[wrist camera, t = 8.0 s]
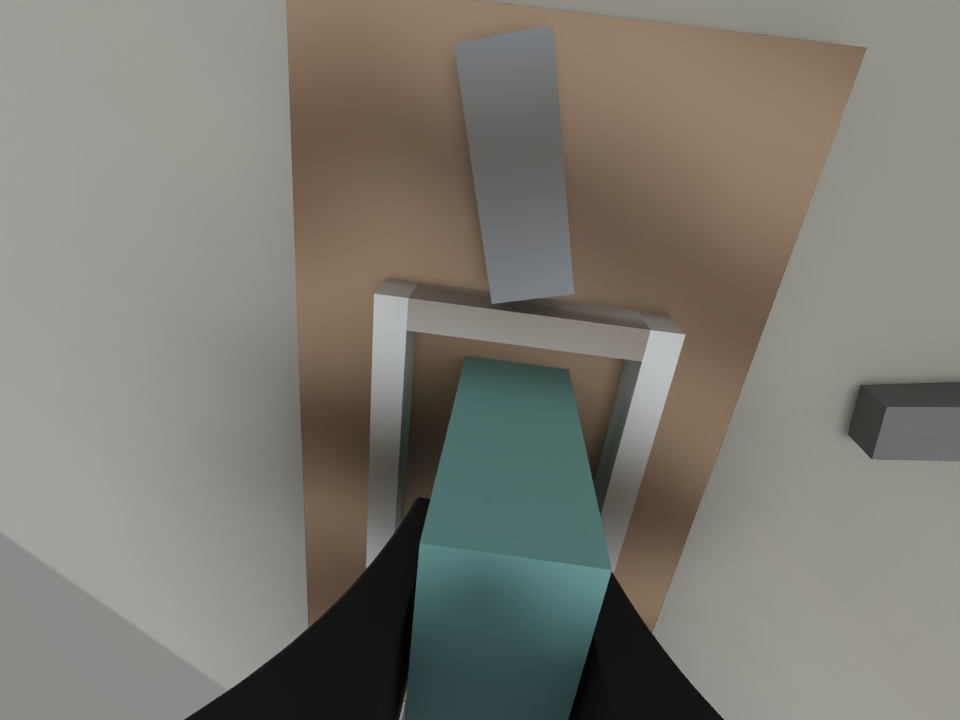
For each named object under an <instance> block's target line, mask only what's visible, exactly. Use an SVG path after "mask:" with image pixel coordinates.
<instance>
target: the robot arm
mask: <svg viewBox="0 0 960 720" xmlns="http://www.w3.org/2000/svg"><path fill="white" fill-rule="evenodd" d="M429 503H430V499H429V498H422V497H419V498H417V499H416V500H414V502H413V504H412V506H411V508H410V509H409V511H408V513H407V515H406V516H405V518H404V519H403V521H402V522H401V524H400V525H399V527H398V528H397V530H396V531H395V533H394V534H393V536H392V537H391V538H390V540H389V541H388V542H387V543H386V545H385V546H384V547H383V549H382V550H381V551H380V553H379V554H378V555H377V557H376V558H375V559H374V560H373V562H372V563H371V564H370V565H369V566H368V567H367V568H366V570H365V571H364V572H363V573H362V574H361V575H360V577H359V578H358V579H357V580H356V581H355V582H354V584H353V585H352V586H351V587H350V588H349V589H348V590H347V591H346V592H345V593H344V594H343V595H342V596H341V597H340V598H339V599H338V600H337V601H336V602H335V603H334V604H333V605H332V606H331V607H330V608H329V609H328V610H327V611H326V612H325V613H324V614H323V615H322V616H321V617H320V618H319V619H318V620H317V621H316V622H314V623H313V624H312V625H311V626H310V627H309V628H308V629H307V630H306V631H304V632H303V633H302V634H301V635H300V636H299V637H298V638H297V639H295V640H294V641H293V642H292V643H291V644H289V645H288V646H287V647H286V648H285V649H283V650H282V651H281V652H280V653H278V654H277V655H276V656H274V657H273V658H272V659H270V660H269V661H268V662H267V663H265V664H264V665H263V666H261V667H260V668H259V669H257V670H256V671H255V672H254V673H252V674H251V675H250V676H248V677H247V678H246V679H244V680H243V681H241V682H240V683H239V684H237V685H236V686H234V687H233V688H231V689H230V690H228V691H227V692H225V693H224V694H222V695H221V696H220V697H218V698H216V699H215V700H214V701H212V702H210V703H209V704H207V705H206V706H204V707H203V708H201V709H200V710H198V711H197V712H196V713H194V714H192V715H191V716H189V717H188V718H186V719H185V720H399V717H400V713H401V709H402V705H403V700H404V696H405V693H406V689H407V684H408V673H409V661H410V650H411V638H412V627H413V615H414V604H415V592H416V580H417V569H418V557H419V546H420V540H421V536H422V532H423V528H424V524H425V520H426V516H427V511H428V507H429ZM568 720H724V719H723V718H722V717H721V716H720V715H719V714H718V713H717V712H716V711H715V709H714V708H713V707H712V706H711V705H710V704H709V703H708V702H707V701H706V700H705V699H704V697H703V696H702V695H701V694H700V693H699V692H698V691H697V690H696V689H695V688H694V686H693V685H692V684H691V683H690V682H689V680H688V679H687V678H686V677H685V676H684V674H683V673H682V672H681V671H680V670H679V668H678V667H677V666H676V665H675V663H674V662H673V661H672V659H671V658H670V657H669V656H668V654H667V653H666V652H665V650H664V649H663V648H662V646H661V645H660V644H659V642H658V641H657V640H656V638H655V637H654V636H653V634H652V633H651V631H650V630H649V628H648V627H647V626H646V624H645V623H644V621H643V620H642V618H641V617H640V615H639V614H638V612H637V611H636V609H635V608H634V606H633V605H632V603H631V602H630V600H629V598H628V597H627V595H626V594H625V592H624V590H623V589H622V587H621V585H620V584H619V582H618V580H617V579H616V577H615V575H614V574H613V572H611V575H610V578H609V582H608V585H607V589H606V592H605V596H604V599H603V602H602V606H601V609H600V613H599V616H598V620H597V623H596V626H595V630H594V633H593V637H592V640H591V644H590V647H589V650H588V654H587V657H586V661H585V664H584V668H583V671H582V674H581V678H580V681H579V685H578V688H577V692H576V695H575V698H574V702H573V705H572V709H571V712H570V715H569V719H568Z"/></svg>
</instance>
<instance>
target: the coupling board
mask: <svg viewBox="0 0 960 720" xmlns="http://www.w3.org/2000/svg"><path fill="white" fill-rule="evenodd" d="M286 6H287V34H288V62H289V90H290V119H291V147H292V175H293V203H294V231H295V259H296V287H297V316H298V344H299V372H300V400H301V428H302V456H303V484H304V513H305V541H306V569H307V597H308V625H309V627H310V626H311V625H312V624H313V623H314V622H316V621H317V620H318V619H319V618H320V617H321V616H322V615H323V614H324V613H325V612H326V611H327V610H328V609H329V608H330V607H331V606H332V605H333V604H334V603H335V602H336V601H337V600H338V599H339V598H340V597H341V596H342V595H343V594H344V593H345V592H346V591H347V590H348V589H349V588H350V587H351V586H352V585H353V584H354V582H355V581H356V580H357V579H358V578H359V577H360V575H361V574H362V573H363V572H364V571H365V570H366V568H367V567H368V566H369V565H370V564H371V563H372V562H373V560H374V559H375V558H376V557H377V555H378V554H379V553H380V551H381V550H382V549H383V547H384V546H385V545H386V543H387V542H388V541H389V540H390V538H391V537H392V536H393V534H394V533H395V531H396V530H397V528H398V527H399V525H400V524H401V522H402V521H403V519H404V518H405V516H406V515H407V513H408V511H409V509H410V508H411V506H412V504H413V502H414V500H416V499H417V498H419V497H422V498H429V499H431V495H432V491H433V487H434V483H435V479H436V475H437V470H438V466H439V462H440V458H441V454H442V450H443V446H444V442H445V438H446V434H447V429H448V425H449V421H450V417H451V413H452V409H453V405H454V401H455V397H456V393H457V388H458V384H459V380H460V376H461V372H462V368H463V364H464V360H465V356H473V357H480V358H488V359H495V360H503V361H510V362H518V363H525V364H533V365H540V366H548V367H555V368H563V369H569V373H570V378H571V382H572V387H573V391H574V396H575V401H576V405H577V410H578V415H579V419H580V424H581V429H582V433H583V438H584V443H585V447H586V452H587V457H588V461H589V466H590V471H591V475H592V480H593V484H594V489H595V494H596V498H597V503H598V508H599V512H600V517H601V522H602V526H603V531H604V536H605V540H606V545H607V550H608V554H609V559H610V563H611V568H612V572H613V574H614V575H615V577H616V579H617V580H618V582H619V584H620V585H621V587H622V589H623V590H624V592H625V594H626V595H627V597H628V598H629V600H630V602H631V603H632V605H633V606H634V608H635V609H636V611H637V612H638V614H639V615H640V617H641V618H642V620H643V621H644V623H645V624H646V626H647V627H648V628H649V630H650V631H651V633H652V632H653V629H654V626H655V624H656V621H657V618H658V615H659V613H660V610H661V607H662V605H663V602H664V599H665V596H666V594H667V591H668V588H669V586H670V583H671V580H672V577H673V575H674V572H675V569H676V566H677V564H678V561H679V558H680V556H681V553H682V550H683V547H684V545H685V542H686V539H687V536H688V534H689V531H690V528H691V526H692V523H693V520H694V517H695V515H696V512H697V509H698V506H699V504H700V501H701V498H702V496H703V493H704V490H705V487H706V485H707V482H708V479H709V476H710V474H711V471H712V468H713V466H714V463H715V460H716V457H717V455H718V452H719V449H720V447H721V444H722V441H723V438H724V436H725V433H726V430H727V427H728V425H729V422H730V419H731V417H732V414H733V411H734V408H735V406H736V403H737V400H738V397H739V395H740V392H741V389H742V387H743V384H744V381H745V378H746V376H747V373H748V370H749V367H750V365H751V362H752V359H753V357H754V354H755V351H756V348H757V346H758V343H759V340H760V337H761V335H762V332H763V329H764V327H765V324H766V321H767V318H768V316H769V313H770V310H771V308H772V305H773V302H774V299H775V297H776V294H777V291H778V288H779V286H780V283H781V280H782V278H783V275H784V272H785V269H786V267H787V264H788V261H789V258H790V256H791V253H792V250H793V248H794V245H795V242H796V239H797V237H798V234H799V231H800V228H801V226H802V223H803V220H804V218H805V215H806V212H807V209H808V207H809V204H810V201H811V198H812V196H813V193H814V190H815V188H816V185H817V182H818V179H819V177H820V174H821V171H822V169H823V166H824V163H825V160H826V158H827V155H828V152H829V149H830V147H831V144H832V141H833V139H834V136H835V133H836V130H837V128H838V125H839V122H840V119H841V117H842V114H843V111H844V109H845V106H846V103H847V100H848V98H849V95H850V92H851V89H852V87H853V84H854V81H855V79H856V76H857V73H858V70H859V68H860V65H861V62H862V59H863V57H864V54H865V51H866V49H867V48H865V47H857V46H849V45H840V44H832V43H824V42H816V41H807V40H799V39H791V38H782V37H774V36H766V35H758V34H749V33H741V32H733V31H724V30H716V29H708V28H700V27H691V26H683V25H675V24H666V23H658V22H650V21H642V20H633V19H625V18H617V17H608V16H600V15H592V14H584V13H575V12H567V11H559V10H550V9H542V8H534V7H526V6H517V5H509V4H501V3H492V2H484V1H476V0H286ZM406 696H407V689H406V693H405V696H404V700H403V702H405V707H406ZM405 707H404V712H403V717H402V720H404V719H405Z"/></svg>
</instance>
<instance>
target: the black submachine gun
mask: <svg viewBox="0 0 960 720" xmlns="http://www.w3.org/2000/svg"><path fill="white" fill-rule="evenodd" d="M848 435H849V436H850V437H851V438H852V439H853V440H854V441H855V442H856V443H857V444H858V445H859V446H860V447H861V448H862V450H863V451H864V452H865V453H866V454H867V455H868V456H869V457H870V458H871V459H877V460H931V461H960V382H954V383H918V384H882V385H861V387H860V391H859V395H858V399H857V403H856V407H855V411H854V414H853V418H852V422H851V426H850V430H849V434H848Z"/></svg>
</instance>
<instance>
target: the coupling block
mask: <svg viewBox="0 0 960 720" xmlns="http://www.w3.org/2000/svg"><path fill="white" fill-rule="evenodd" d="M611 572H612V568H611V563H610V559H609V554H608V550H607V545H606V540H605V536H604V531H603V526H602V522H601V517H600V512H599V508H598V503H597V498H596V494H595V489H594V484H593V480H592V475H591V471H590V466H589V461H588V457H587V452H586V447H585V443H584V438H583V433H582V429H581V424H580V419H579V415H578V410H577V405H576V401H575V396H574V391H573V387H572V382H571V378H570V373H569V369H563V368H555V367H548V366H540V365H533V364H525V363H518V362H510V361H503V360H495V359H488V358H480V357H473V356H465V360H464V364H463V368H462V372H461V376H460V380H459V384H458V388H457V393H456V397H455V401H454V405H453V409H452V413H451V417H450V421H449V425H448V429H447V434H446V438H445V442H444V446H443V450H442V454H441V458H440V462H439V466H438V470H437V475H436V479H435V483H434V487H433V491H432V495H431V499H430V503H429V507H428V511H427V516H426V520H425V524H424V528H423V532H422V536H421V540H420V546H419V557H418V569H417V580H416V592H415V604H414V615H413V627H412V638H411V650H410V661H409V673H408V684H407V696H406V707H405V719H404V720H568V719H569V715H570V712H571V709H572V705H573V702H574V698H575V695H576V692H577V688H578V685H579V681H580V678H581V674H582V671H583V668H584V664H585V661H586V657H587V654H588V650H589V647H590V644H591V640H592V637H593V633H594V630H595V626H596V623H597V620H598V616H599V613H600V609H601V606H602V602H603V599H604V596H605V592H606V589H607V585H608V582H609V578H610V575H611Z"/></svg>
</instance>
